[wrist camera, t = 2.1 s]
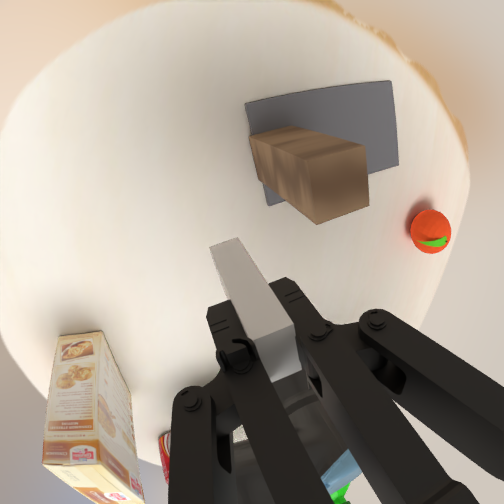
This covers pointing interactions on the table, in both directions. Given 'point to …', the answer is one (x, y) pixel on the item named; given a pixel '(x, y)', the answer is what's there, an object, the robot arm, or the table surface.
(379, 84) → the mat
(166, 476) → the soda can
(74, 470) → the coffeecake box
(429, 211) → the clementine
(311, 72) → the table surface
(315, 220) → the block
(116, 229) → the table surface
